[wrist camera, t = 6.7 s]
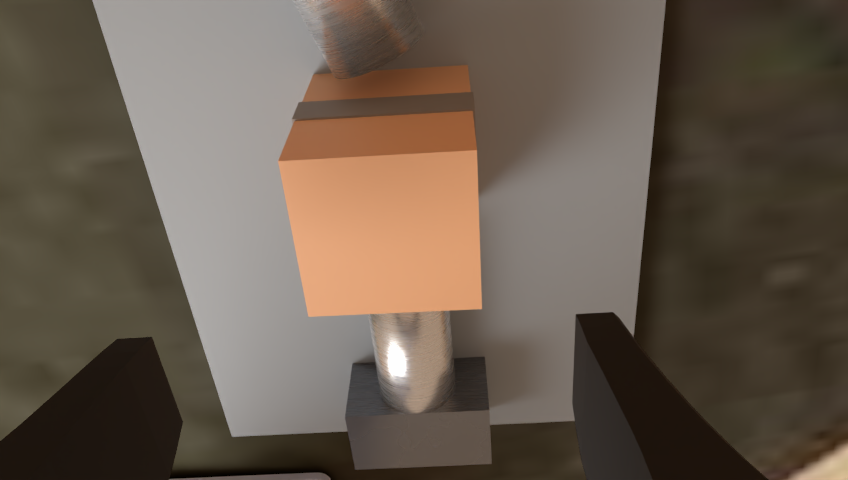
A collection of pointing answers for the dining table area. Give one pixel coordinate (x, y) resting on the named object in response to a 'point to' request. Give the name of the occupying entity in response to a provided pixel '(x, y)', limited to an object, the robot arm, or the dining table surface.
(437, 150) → the taped shipping carton
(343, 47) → the output shaft
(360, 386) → the input shaft
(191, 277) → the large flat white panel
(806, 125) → the dining table surface
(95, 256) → the dining table surface
